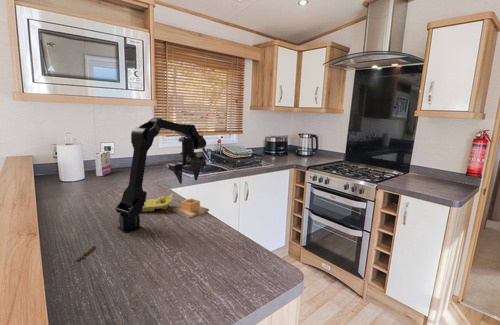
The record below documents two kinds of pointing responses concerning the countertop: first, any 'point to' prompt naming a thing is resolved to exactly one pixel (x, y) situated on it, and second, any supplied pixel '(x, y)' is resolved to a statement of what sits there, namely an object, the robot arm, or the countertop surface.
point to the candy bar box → (102, 163)
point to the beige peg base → (190, 214)
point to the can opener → (86, 253)
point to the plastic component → (157, 203)
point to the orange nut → (190, 205)
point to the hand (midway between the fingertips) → (188, 181)
